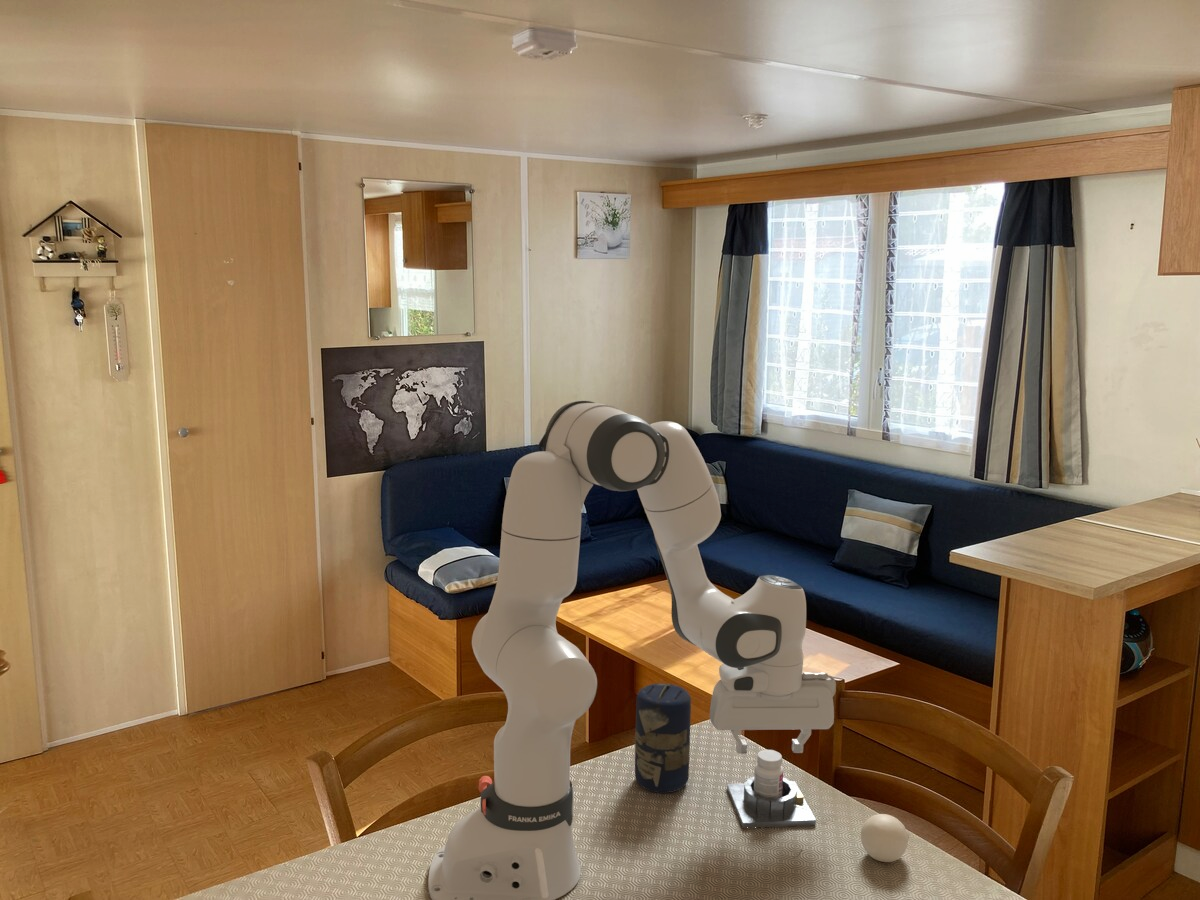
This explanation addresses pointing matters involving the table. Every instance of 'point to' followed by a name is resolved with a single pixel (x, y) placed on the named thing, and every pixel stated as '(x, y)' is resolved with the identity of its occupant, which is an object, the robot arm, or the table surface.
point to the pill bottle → (768, 774)
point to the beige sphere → (884, 837)
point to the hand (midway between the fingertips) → (769, 751)
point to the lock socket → (770, 806)
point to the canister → (662, 737)
